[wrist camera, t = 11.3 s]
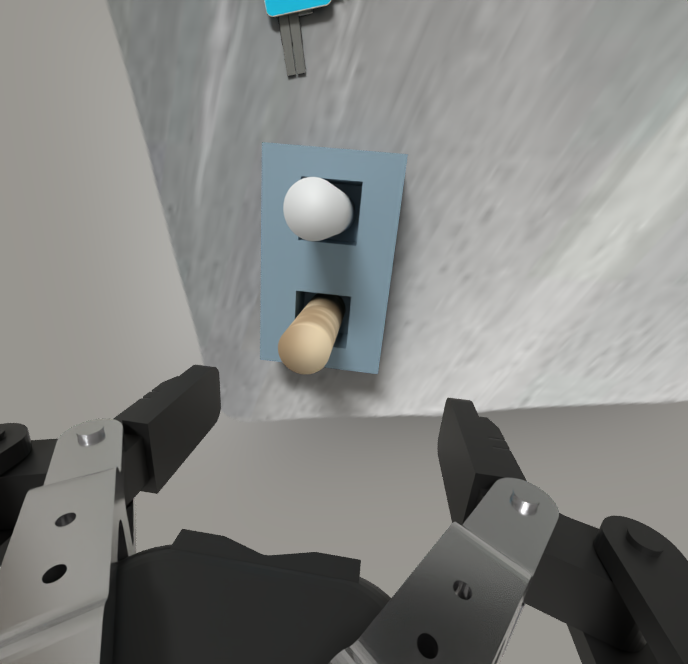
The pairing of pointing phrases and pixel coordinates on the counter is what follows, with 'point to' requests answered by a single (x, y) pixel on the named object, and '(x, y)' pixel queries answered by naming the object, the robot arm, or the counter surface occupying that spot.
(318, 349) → the beech pin
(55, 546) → the robot arm
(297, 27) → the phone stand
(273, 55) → the counter surface
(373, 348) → the bore block
